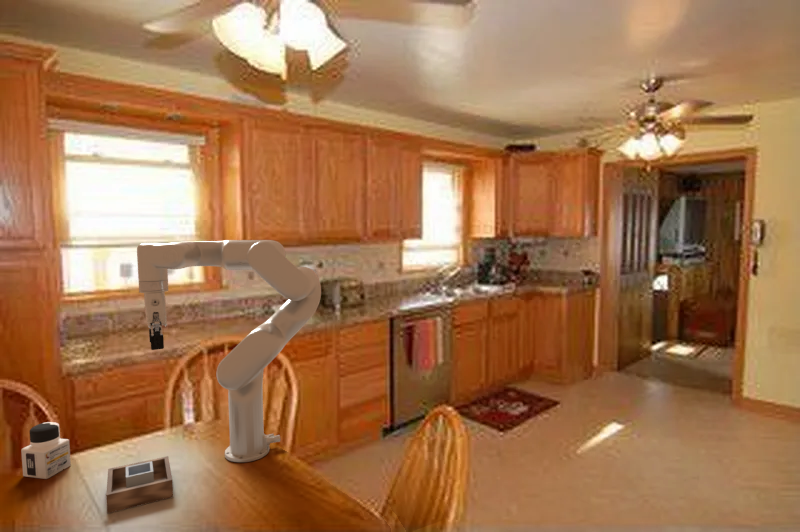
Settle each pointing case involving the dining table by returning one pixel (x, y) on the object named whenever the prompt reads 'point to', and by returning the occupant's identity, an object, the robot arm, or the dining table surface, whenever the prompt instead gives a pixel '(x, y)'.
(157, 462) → the box
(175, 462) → the dining table surface
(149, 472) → the small crate
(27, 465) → the container
